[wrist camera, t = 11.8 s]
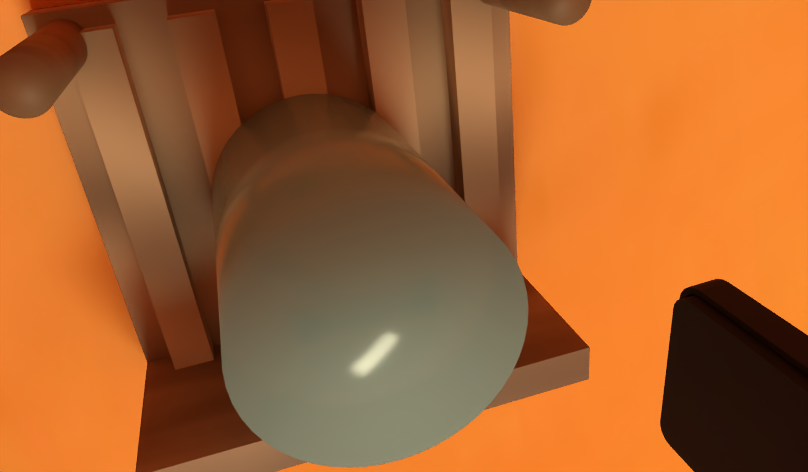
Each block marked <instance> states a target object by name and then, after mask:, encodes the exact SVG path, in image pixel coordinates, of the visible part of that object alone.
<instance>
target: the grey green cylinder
mask: <svg viewBox="0 0 808 472" xmlns="http://www.w3.org/2000/svg"><path fill="white" fill-rule="evenodd" d="M212 207H213V224H214V240H215V257H216V274H217V290H218V307H219V324H220V340H221V357H222V371H223V376H224V381H225V386H226V389H227V392H228V394H229V397H230V399H231V402H232V404H233V406H234V408H235V409H236V411H237V412H238V414H239V416H240V417H241V419H242V420H243V421H244V422H245V424H246V425H247V426H248V427H249V428H250V429H251V431H252V432H254V433H255V434H256V435H257V436H258V437H259V438H261V439H262V440H263V441H264V442H265V443H267V444H269V445H270V446H272V447H273V448H275V449H277V450H278V451H280V452H282V453H284V454H287V455H289V456H291V457H293V458H296V459H299V460H302V461H306V462H309V463H313V464H318V465H324V466H330V467H367V466H373V465H380V464H385V463H389V462H393V461H397V460H401V459H404V458H407V457H410V456H413V455H416V454H418V453H421V452H423V451H425V450H427V449H429V448H431V447H434V446H436V445H437V444H439V443H441V442H443V441H444V440H446V439H448V438H449V437H451V436H453V435H454V434H455V433H457V432H458V431H460V430H461V429H462V428H464V427H465V426H467V425H468V424H469V423H470V422H471V421H472V420H474V419H475V418H476V417H477V416H478V415H479V414H480V413H481V412H482V411H483V410H484V409H485V408H486V407H487V406H488V405H489V404H490V403H491V402H492V401H493V399H494V398H495V397H496V395H497V394H498V393H499V391H500V390H501V389H502V388H503V386H504V385H505V383H506V381H507V380H508V378H509V376H510V375H511V373H512V371H513V369H514V367H515V365H516V363H517V360H518V358H519V356H520V353H521V350H522V347H523V344H524V341H525V335H526V330H527V325H528V299H527V290H526V287H525V283H524V279H523V275H522V273H521V271H520V268H519V266H518V264H517V261H516V260H515V258H514V257H513V255H512V253H511V252H510V250H509V249H508V247H507V246H506V245H505V244H504V243H503V242H502V240H501V239H500V238H499V237H498V236H497V235H496V234H495V233H494V232H493V231H492V230H491V229H490V228H489V227H488V226H487V224H486V223H485V222H484V221H483V220H482V219H481V218H480V217H479V216H478V215H477V214H476V213H475V212H474V211H473V210H472V209H471V208H470V207H469V206H468V205H467V204H466V203H465V202H464V201H463V199H462V198H461V197H460V196H459V195H458V194H457V193H456V192H455V191H454V190H453V189H452V188H451V187H450V186H449V185H448V184H447V183H446V182H445V181H444V180H443V179H442V178H441V177H440V176H439V174H438V173H437V172H436V171H435V170H434V169H433V168H432V167H431V166H430V165H429V164H428V163H427V162H426V161H425V160H424V159H423V158H422V157H421V156H420V155H419V154H418V153H417V152H416V151H415V149H414V148H413V147H412V146H411V145H410V144H409V143H408V142H407V141H406V140H405V139H404V138H403V137H402V136H401V135H400V134H399V133H398V132H397V131H396V130H395V129H394V128H393V127H392V126H391V124H390V123H389V122H388V121H387V120H386V119H384V118H383V117H382V116H381V115H380V114H378V113H377V112H376V111H374V110H373V109H371V108H369V107H368V106H366V105H364V104H362V103H360V102H357V101H355V100H353V99H349V98H346V97H342V96H338V95H331V94H304V95H297V96H293V97H289V98H285V99H282V100H280V101H277V102H275V103H272V104H270V105H268V106H266V107H265V108H263V109H261V110H259V111H258V112H256V113H255V114H254V115H252V116H251V117H249V118H248V119H247V120H246V121H245V122H244V123H243V124H242V125H241V126H240V127H239V128H238V129H237V130H236V131H235V132H234V134H233V135H232V136H231V137H230V139H229V140H228V142H227V143H226V145H225V147H224V148H223V150H222V152H221V154H220V157H219V159H218V161H217V164H216V168H215V172H214V176H213V183H212Z"/></svg>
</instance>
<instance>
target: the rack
mask: <svg viewBox="0 0 808 472" xmlns="http://www.w3.org/2000/svg"><path fill="white" fill-rule="evenodd" d="M590 3H591V0H100V1H93V2H86V3H79V4H72V5H65V6H58V7H51V8H44V9H37V10H31V11H29V12H27V13H25V14H23V15H22V16H21V19H22V21H23V24H24V27H25V29H26V32H27V35H28V37H27V38H26V39H25V40H23V41H22V42H20V43H19V44H17V45H16V46H15V47H13V48H12V49H10V50H9V51H7V52H6V53H4V54H3V55H2V56H0V110H1V111H3V112H4V113H6V114H8V115H11V116H14V117H18V118H34V117H38V116H40V115H42V114H44V113H45V112H47V111H48V110H49V109H50V108H51V107H52V105H53V106H54V109H55V111H56V114H57V117H58V120H59V122H60V125H61V128H62V131H63V133H64V136H65V139H66V141H67V144H68V147H69V150H70V152H71V155H72V158H73V161H74V163H75V166H76V169H77V171H78V174H79V177H80V180H81V182H82V185H83V188H84V191H85V193H86V196H87V199H88V202H89V204H90V207H91V210H92V212H93V215H94V218H95V221H96V223H97V226H98V229H99V232H100V234H101V237H102V240H103V242H104V245H105V248H106V251H107V253H108V256H109V259H110V262H111V264H112V267H113V270H114V273H115V275H116V278H117V281H118V283H119V286H120V289H121V292H122V294H123V297H124V300H125V303H126V305H127V308H128V311H129V313H130V316H131V319H132V322H133V324H134V327H135V330H136V333H137V335H138V338H139V341H140V344H141V346H142V349H143V352H144V354H145V357H146V360H147V371H146V380H145V390H144V399H143V408H142V417H141V426H140V436H139V445H138V454H137V463H136V472H275V471H279V470H282V469H285V468H289V467H292V466H296V465H299V464H302V463H306V461H302V460H299V459H296V458H293V457H291V456H289V455H287V454H284V453H282V452H280V451H278V450H277V449H275V448H273V447H272V446H270V445H269V444H267V443H265V442H264V441H263V440H262V439H261V438H259V437H258V436H257V435H256V434H255V433H254V432H252V431H251V429H250V428H249V427H248V426H247V425H246V424H245V422H244V421H243V420H242V419H241V417H240V416H239V414H238V412H237V411H236V409H235V408H234V406H233V404H232V402H231V399H230V397H229V394H228V392H227V389H226V386H225V381H224V376H223V371H222V357H221V340H220V324H219V307H218V290H217V274H216V257H215V240H214V224H213V207H212V183H213V176H214V172H215V168H216V164H217V161H218V159H219V157H220V154H221V152H222V150H223V148H224V147H225V145H226V143H227V142H228V140H229V139H230V137H231V136H232V135H233V134H234V132H235V131H236V130H237V129H238V128H239V127H240V126H241V125H242V124H243V123H244V122H245V121H246V120H247V119H248V118H249V117H251V116H252V115H254V114H255V113H256V112H258V111H259V110H261V109H263V108H265V107H266V106H268V105H270V104H272V103H275V102H277V101H280V100H282V99H285V98H289V97H293V96H297V95H304V94H331V95H338V96H342V97H346V98H349V99H353V100H355V101H357V102H360V103H362V104H364V105H366V106H368V107H369V108H371V109H373V110H374V111H376V112H377V113H378V114H380V115H381V116H382V117H383V118H384V119H386V120H387V121H388V122H389V123H390V124H391V126H392V127H393V128H394V129H395V130H396V131H397V132H398V133H399V134H400V135H401V136H402V137H403V138H404V139H405V140H406V141H407V142H408V143H409V144H410V145H411V146H412V147H413V148H414V149H415V151H416V152H417V153H418V154H419V155H420V156H421V157H422V158H423V159H424V160H425V161H426V162H427V163H428V164H429V165H430V166H431V167H432V168H433V169H434V170H435V171H436V172H437V173H438V174H439V176H440V177H441V178H442V179H443V180H444V181H445V182H446V183H447V184H448V185H449V186H450V187H451V188H452V189H453V190H454V191H455V192H456V193H457V194H458V195H459V196H460V197H461V198H462V199H463V201H464V202H465V203H466V204H467V205H468V206H469V207H470V208H471V209H472V210H473V211H474V212H475V213H476V214H477V215H478V216H479V217H480V218H481V219H482V220H483V221H484V222H485V223H486V224H487V226H488V227H489V228H490V229H491V230H492V231H493V232H494V233H495V234H496V235H497V236H498V237H499V238H500V239H501V240H502V242H503V243H504V244H505V245H506V246H507V247H508V249H509V250H510V252H511V253H512V255H513V257H514V258H515V260H516V261H517V242H516V210H515V179H514V147H513V116H512V85H511V53H510V22H509V11H512V12H516V13H519V14H523V15H526V16H530V17H533V18H537V19H541V20H544V21H548V22H551V23H555V24H558V25H571V24H573V23H575V22H577V21H578V20H580V19H581V18H582V17H583V16H584V15H585V13H586V12H587V10H588V8H589V6H590ZM523 279H524V283H525V287H526V290H527V299H528V325H527V330H526V335H525V341H524V344H523V347H522V350H521V353H520V356H519V358H518V360H517V363H516V365H515V367H514V369H513V371H512V373H511V375H510V376H509V378H508V380H507V381H506V383H505V385H504V386H503V388H502V389H501V390H500V391H499V393H498V394H497V395H496V397H495V398H494V399H493V401H492V402H491V403H490V404H489V405H488V406H487V407H486V408H485V409H489V408H492V407H495V406H499V405H502V404H506V403H509V402H512V401H516V400H519V399H523V398H526V397H529V396H533V395H536V394H540V393H543V392H546V391H550V390H553V389H556V388H560V387H563V386H567V385H570V384H573V383H577V382H580V381H584V380H587V379H589V351H590V347H589V346H588V345H587V344H586V343H585V342H584V341H583V340H582V339H581V338H580V337H579V335H578V334H577V333H576V332H575V331H574V330H573V329H572V328H571V327H570V326H569V325H568V324H567V323H566V321H565V320H564V319H563V318H562V317H561V316H560V315H559V314H558V313H557V312H556V311H555V310H554V308H553V307H552V306H551V305H550V304H549V303H548V302H547V301H546V300H545V299H544V298H543V297H542V295H541V294H540V293H539V292H538V291H537V290H536V289H535V288H534V287H533V286H532V285H531V284H530V283H529V281H528V280H527V279H526V278H525V277H524V276H523ZM485 409H484V410H485Z"/></svg>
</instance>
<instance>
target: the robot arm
mask: <svg viewBox="0 0 808 472" xmlns="http://www.w3.org/2000/svg"><path fill="white" fill-rule="evenodd" d="M660 425H661V430H662V433H663V435H664V437H665V439H666V441H667V442H668V444H669V445H670V446H671V447H672V448H673V449H674V450H675V451H676V453H677V454H678V455H679V456H680V457H681V458H682V459H683V460H684V461H685V462H686V463H687V464H688V465H689V467H690V468H691V469H692V470H693V471H694V472H808V335H806V334H805V333H803V332H802V331H800V330H799V329H797V328H796V327H794V326H793V325H791V324H790V323H788V322H787V321H785V320H784V319H782V318H781V317H779V316H778V315H776V314H775V313H773V312H772V311H770V310H769V309H767V308H766V307H764V306H763V305H761V304H760V303H759V302H757V301H756V300H754V299H753V298H751V297H750V296H748V295H747V294H745V293H744V292H742V291H741V290H739V289H738V288H736V287H735V286H733V285H732V284H730V283H729V282H727V281H724V280H722V279H715V280H711V281H708V282H705V283H701V284H698V285H694V286H691V287H688V288H686V289H684V290H683V291H682V293H681V295H680V299H679V300H677V301H676V303H675V304H674V308H673V317H672V325H671V334H670V343H669V351H668V360H667V369H666V377H665V386H664V394H663V403H662V412H661V420H660Z"/></svg>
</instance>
